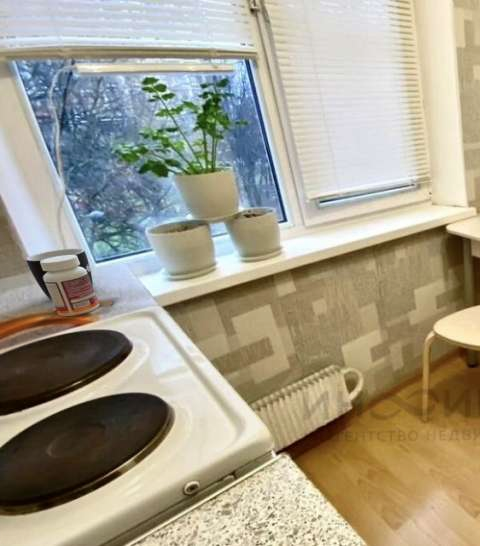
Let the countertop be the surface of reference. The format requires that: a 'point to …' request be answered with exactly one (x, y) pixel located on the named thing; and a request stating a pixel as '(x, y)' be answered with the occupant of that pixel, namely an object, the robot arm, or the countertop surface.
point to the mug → (35, 259)
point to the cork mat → (101, 304)
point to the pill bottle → (69, 285)
